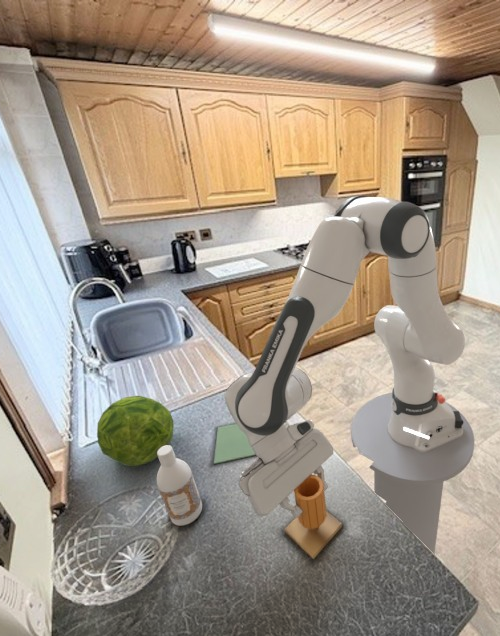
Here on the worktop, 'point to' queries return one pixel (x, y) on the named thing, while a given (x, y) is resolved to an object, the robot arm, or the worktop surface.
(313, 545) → the post
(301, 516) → the orange ribbed tube
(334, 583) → the worktop surface
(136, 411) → the lettuce
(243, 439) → the mat
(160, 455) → the bath foam
